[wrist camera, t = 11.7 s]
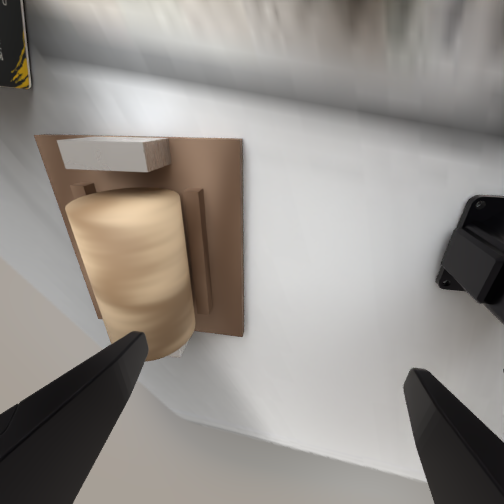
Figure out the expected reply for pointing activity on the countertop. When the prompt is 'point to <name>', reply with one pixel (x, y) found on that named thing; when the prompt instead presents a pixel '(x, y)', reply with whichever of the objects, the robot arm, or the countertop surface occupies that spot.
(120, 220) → the paper roll
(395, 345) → the countertop surface
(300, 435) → the countertop surface
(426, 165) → the countertop surface
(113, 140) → the holder stand
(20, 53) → the medicine bottle
